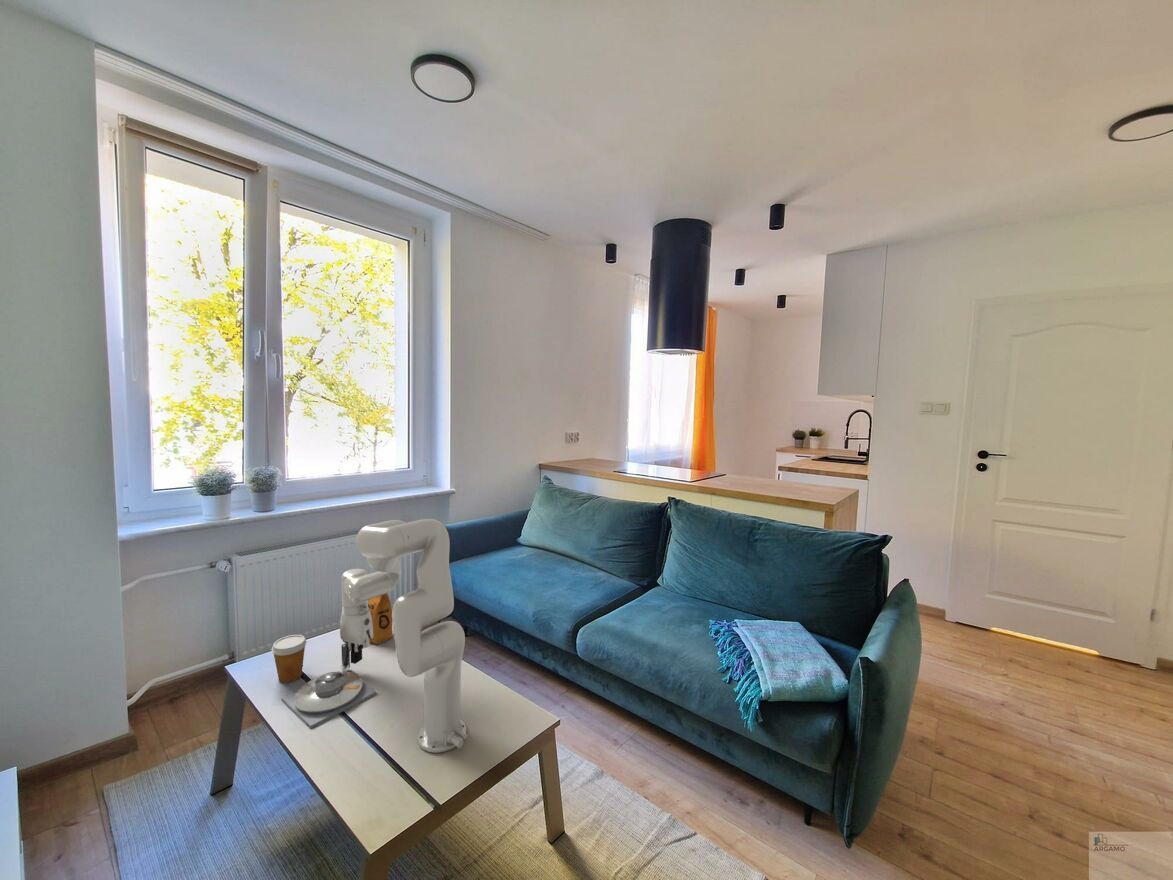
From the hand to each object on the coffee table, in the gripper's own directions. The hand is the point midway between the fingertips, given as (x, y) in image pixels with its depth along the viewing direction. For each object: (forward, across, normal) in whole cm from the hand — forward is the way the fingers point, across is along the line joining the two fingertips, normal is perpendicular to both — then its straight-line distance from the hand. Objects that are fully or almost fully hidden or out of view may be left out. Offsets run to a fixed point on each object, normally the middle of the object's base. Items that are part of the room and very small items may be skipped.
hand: (356, 661), depth 152 cm
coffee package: (+4, +12, -20) cm, 23 cm away
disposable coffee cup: (+4, +18, +10) cm, 21 cm away
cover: (+2, -3, +13) cm, 13 cm away
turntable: (+3, -1, +10) cm, 10 cm away
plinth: (+4, -2, +12) cm, 13 cm away
